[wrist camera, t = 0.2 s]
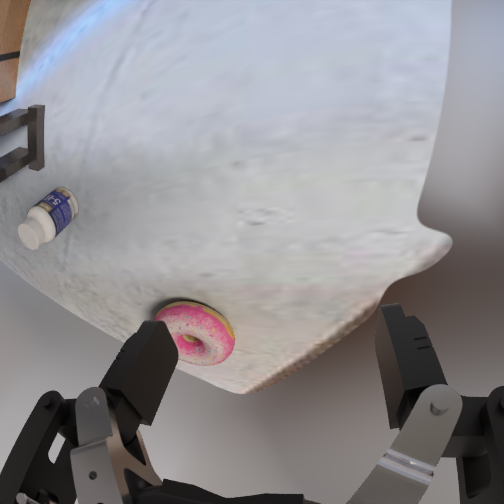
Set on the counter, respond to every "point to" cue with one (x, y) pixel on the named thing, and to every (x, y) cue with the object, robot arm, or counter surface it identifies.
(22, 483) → the robot arm
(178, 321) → the donut
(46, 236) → the pill bottle
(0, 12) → the tall wooden block
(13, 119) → the dark two-tier wooden rack
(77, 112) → the counter surface
